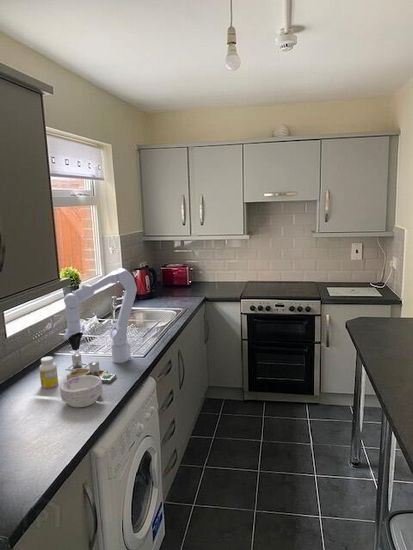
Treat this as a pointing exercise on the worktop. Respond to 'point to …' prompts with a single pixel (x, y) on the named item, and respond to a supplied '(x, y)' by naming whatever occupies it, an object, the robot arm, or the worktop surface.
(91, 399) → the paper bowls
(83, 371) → the wooden compartment tray
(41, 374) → the supplement bottle
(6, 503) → the worktop surface
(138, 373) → the worktop surface
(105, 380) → the grey square socket block
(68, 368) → the tray
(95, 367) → the seated billet
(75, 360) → the billet
